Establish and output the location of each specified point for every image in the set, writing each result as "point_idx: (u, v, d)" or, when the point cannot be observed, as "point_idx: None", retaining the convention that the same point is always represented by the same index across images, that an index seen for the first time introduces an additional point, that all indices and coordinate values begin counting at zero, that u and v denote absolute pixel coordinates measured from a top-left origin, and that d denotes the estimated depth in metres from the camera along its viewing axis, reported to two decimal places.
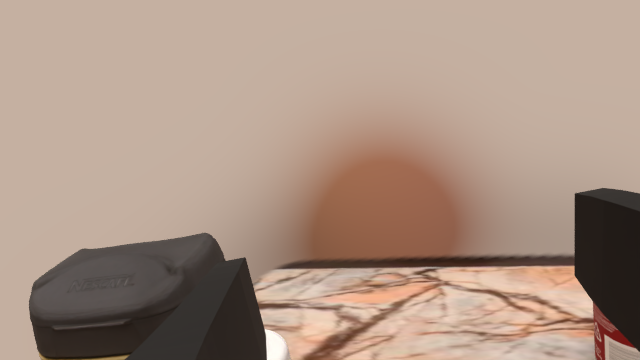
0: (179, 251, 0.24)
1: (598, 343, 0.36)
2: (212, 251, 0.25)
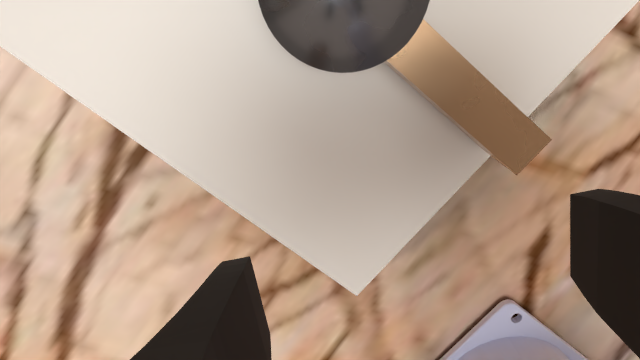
0: None
1: None
2: None
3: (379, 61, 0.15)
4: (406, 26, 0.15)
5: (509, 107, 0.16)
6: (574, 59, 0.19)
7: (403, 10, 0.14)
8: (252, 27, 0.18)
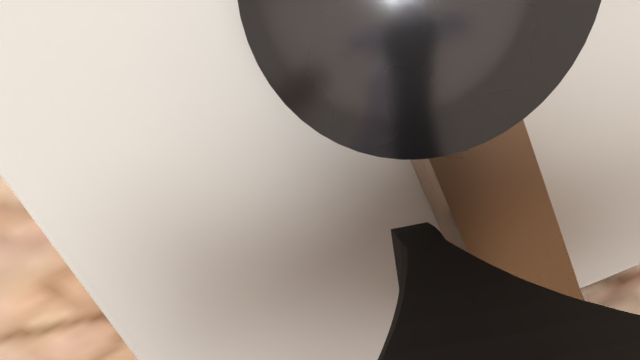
0: None
1: None
2: None
3: (417, 154, 0.07)
4: (494, 114, 0.07)
5: None
6: None
7: (503, 83, 0.07)
8: None
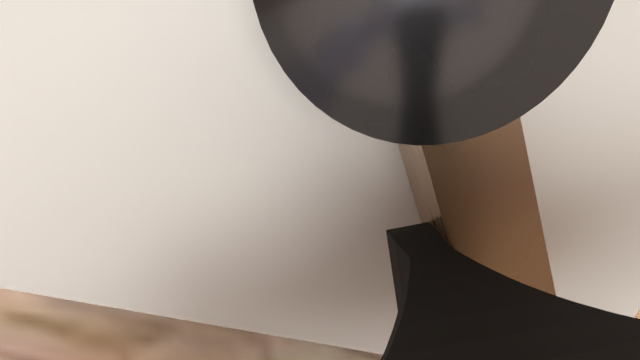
0: None
1: None
2: None
3: (412, 140, 0.07)
4: (493, 107, 0.07)
5: None
6: None
7: (506, 77, 0.07)
8: None
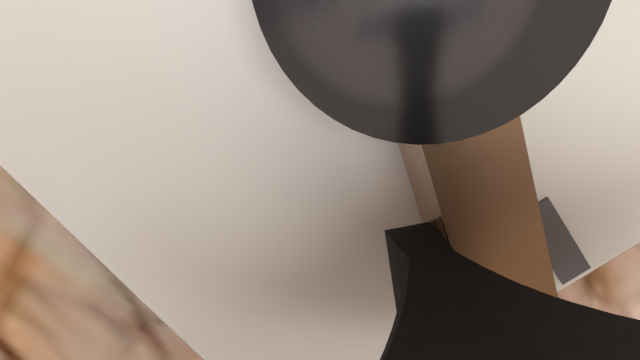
0: None
1: None
2: None
3: (412, 139, 0.07)
4: (493, 106, 0.07)
5: None
6: (183, 328, 0.13)
7: (505, 76, 0.07)
8: None
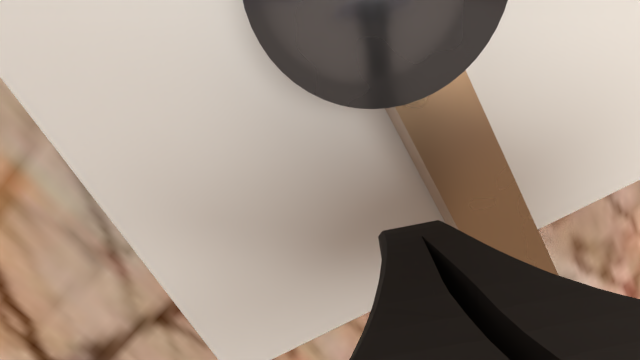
0: None
1: None
2: None
3: (385, 104, 0.10)
4: (441, 69, 0.10)
5: (528, 226, 0.12)
6: (148, 256, 0.15)
7: (445, 45, 0.10)
8: None
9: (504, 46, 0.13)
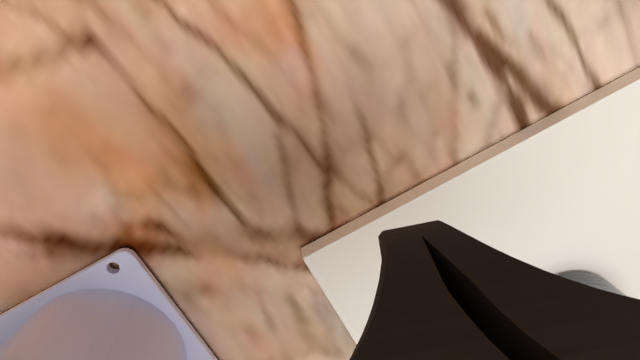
0: None
1: None
2: None
3: None
4: None
5: None
6: None
7: None
8: (572, 255, 0.22)
9: None
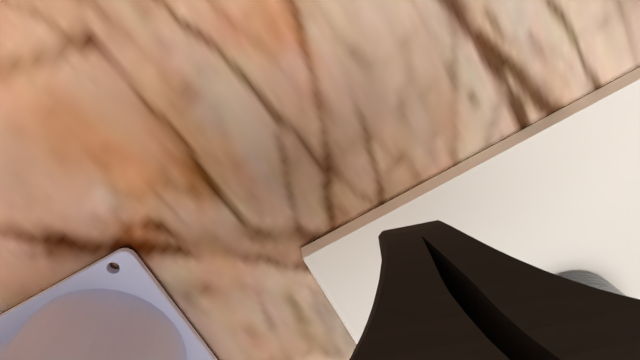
0: None
1: None
2: None
3: None
4: None
5: None
6: None
7: None
8: (572, 255, 0.22)
9: None
